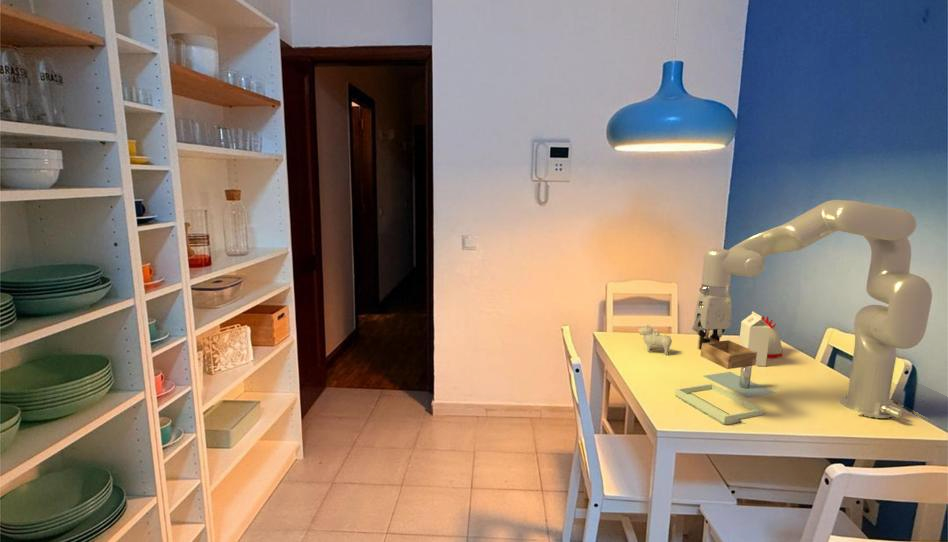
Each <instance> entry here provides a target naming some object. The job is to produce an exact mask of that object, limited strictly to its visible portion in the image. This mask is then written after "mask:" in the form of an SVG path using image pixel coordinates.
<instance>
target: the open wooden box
mask: <svg viewBox="0 0 948 542" xmlns="http://www.w3.org/2000/svg"><path fill="white" fill-rule="evenodd" d="M708 339H710V342H709V343H702V348H701V349H699V345H700V336H698V343H697V348H696V349H697V350H699V351H700V357H701V358H704V359H706V360H708V361H709V362H711V363H714V364H716V365H718V366H720V367H721V368H725V370H726V369H727V370H732V369H737V368H738V369H741V367H748V366H752V367H755V366H756V365H755V362H756V356H757V352H755V351H753V350H751V349H748V348H746V347H743V346H741V345H739V343H737V342H734V341H731V340H729V339H727V340H719V341H718V340H715V339H713V338H711V337H710V336H709V337H708Z"/></svg>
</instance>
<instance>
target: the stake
mask: <svg viewBox="0 0 948 542" xmlns="http://www.w3.org/2000/svg"><path fill="white" fill-rule="evenodd" d="M755 363H756V362H755ZM752 370H753V366H748V367H740V374H739V376H740V382H739V387H741V388H744V389H749V388H750V381H751V376H752Z"/></svg>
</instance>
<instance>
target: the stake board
mask: <svg viewBox="0 0 948 542" xmlns="http://www.w3.org/2000/svg"><path fill="white" fill-rule="evenodd" d="M703 377H704V378H707V379H708V380H710V381H712V382H714V383H716V384H718V385H720V386H722V387H724V388H727V390H731V391H732V392H735V393H737V394H738V395H741V396H743V397H745V398H753V397H759V396H765V395H770V394H775V393H777V392H775V391H773V390H771V389H769V388H767V387H765V386H762V385H760V384H758V383H756V382H754V381H751V380H750V388H749V389H744V388H741V387H739V382H740V375H738V374H735V373H733V372H732V371H726V372H719V373H713V374H712V373H711V374H704V375H703Z"/></svg>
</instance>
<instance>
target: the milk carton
mask: <svg viewBox="0 0 948 542" xmlns="http://www.w3.org/2000/svg"><path fill="white" fill-rule="evenodd" d="M762 317H763V315H760V314H758V313H756V312H755V311H751V314H750V315H748V316H747V317H746V318H744V319H743V320H741V323H740V330H739V331H740V332H739V340H738V341H739V342H738V344H739V345H741V346H743V347H746V348H748V349H751V350H753V351H755V352H757V356H756V363H755V366H756V367H766V366H767V359H768V358H767V352H768V343H769V335H770V327H769V326H768V325H767V324H766V323H765V322H764V321H765V320H764V321H763V320H762Z"/></svg>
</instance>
